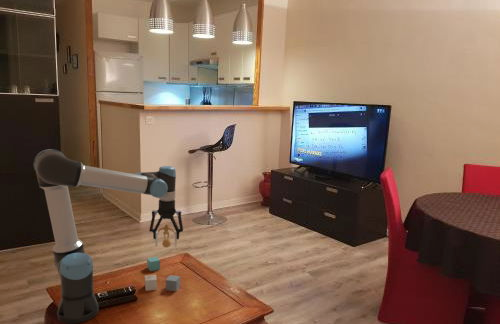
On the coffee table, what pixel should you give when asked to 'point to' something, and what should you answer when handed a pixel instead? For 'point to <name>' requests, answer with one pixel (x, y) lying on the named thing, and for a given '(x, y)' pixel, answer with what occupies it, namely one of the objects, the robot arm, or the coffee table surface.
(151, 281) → the cube offwhite
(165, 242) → the figurine
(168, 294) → the coffee table surface
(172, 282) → the cube slate
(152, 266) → the cube teal
